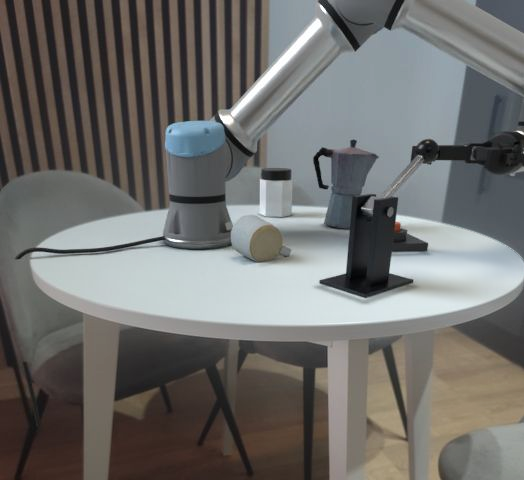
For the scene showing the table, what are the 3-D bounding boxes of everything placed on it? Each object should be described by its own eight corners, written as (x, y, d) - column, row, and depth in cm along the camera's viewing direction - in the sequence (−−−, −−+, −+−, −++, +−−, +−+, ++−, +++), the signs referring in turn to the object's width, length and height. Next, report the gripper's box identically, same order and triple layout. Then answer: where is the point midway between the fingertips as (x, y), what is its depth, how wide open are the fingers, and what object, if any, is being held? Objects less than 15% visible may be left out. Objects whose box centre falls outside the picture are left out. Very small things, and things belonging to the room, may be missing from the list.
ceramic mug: (250, 266, 88) (251, 223, 85) (229, 256, 95) (229, 215, 92) (299, 260, 93) (302, 219, 90) (277, 251, 100) (278, 212, 96)
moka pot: (375, 230, 120) (384, 140, 111) (311, 229, 120) (315, 139, 112) (368, 223, 128) (376, 139, 120) (308, 222, 129) (312, 138, 120)
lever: (425, 153, 80) (421, 133, 78) (445, 155, 78) (441, 134, 75) (362, 223, 75) (355, 204, 73) (381, 226, 73) (375, 207, 71)
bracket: (367, 274, 85) (376, 190, 79) (412, 286, 79) (425, 196, 73) (319, 287, 78) (324, 196, 72) (363, 302, 72) (374, 204, 66)
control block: (369, 256, 97) (371, 235, 95) (352, 244, 106) (354, 225, 104) (426, 254, 99) (429, 233, 97) (405, 242, 108) (407, 224, 106)
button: (385, 233, 99) (386, 224, 98) (378, 230, 102) (379, 221, 101) (402, 233, 99) (403, 224, 99) (395, 229, 103) (396, 221, 102)
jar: (273, 211, 144) (274, 167, 139) (296, 214, 139) (298, 169, 134) (253, 215, 137) (254, 169, 132) (277, 218, 133) (278, 171, 128)
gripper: (575, 179, 87) (519, 188, 74) (447, 169, 104) (384, 174, 92) (588, 132, 83) (531, 133, 71) (453, 129, 101) (388, 130, 88)
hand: (448, 156), depth 81 cm, fingers open, 13 cm apart
